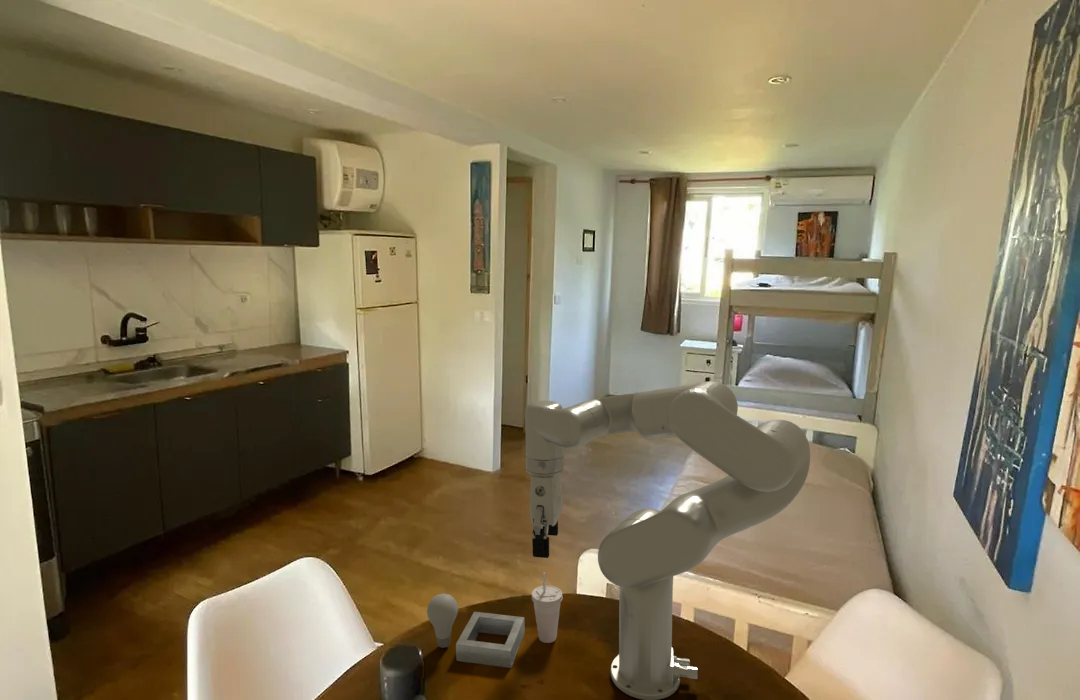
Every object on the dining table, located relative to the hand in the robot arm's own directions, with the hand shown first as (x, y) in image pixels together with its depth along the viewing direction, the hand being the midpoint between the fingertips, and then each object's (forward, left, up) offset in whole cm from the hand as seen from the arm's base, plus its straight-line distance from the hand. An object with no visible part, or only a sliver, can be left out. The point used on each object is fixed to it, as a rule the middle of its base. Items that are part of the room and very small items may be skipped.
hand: (545, 545), depth 113 cm
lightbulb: (+20, +7, -20) cm, 29 cm away
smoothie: (0, 0, -20) cm, 20 cm away
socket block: (+10, +5, -20) cm, 23 cm away
